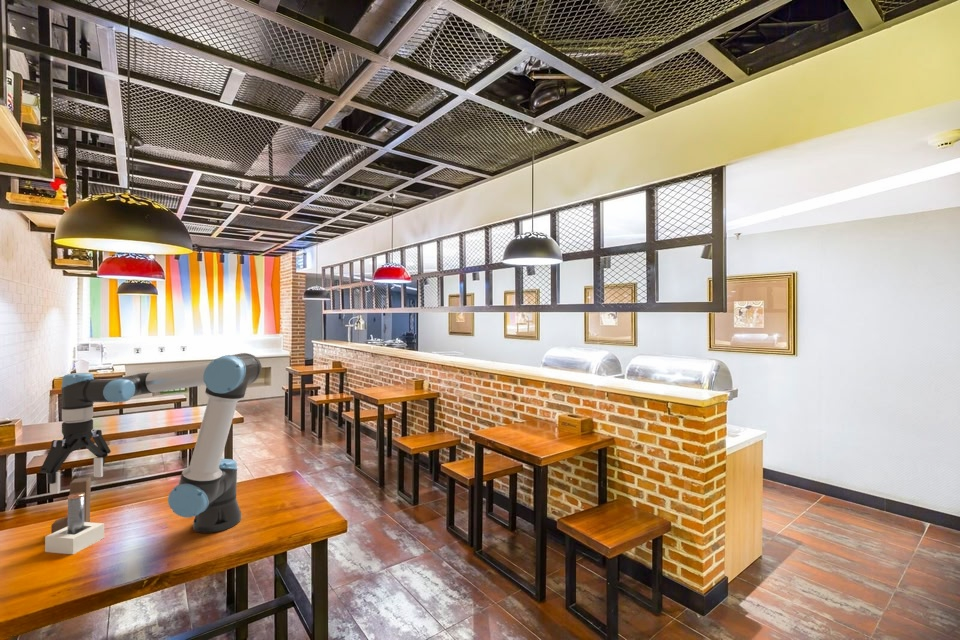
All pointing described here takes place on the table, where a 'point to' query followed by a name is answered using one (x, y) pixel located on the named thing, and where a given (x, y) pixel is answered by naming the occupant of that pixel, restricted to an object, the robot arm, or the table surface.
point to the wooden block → (85, 487)
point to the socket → (74, 539)
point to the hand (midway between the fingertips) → (77, 484)
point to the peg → (76, 513)
